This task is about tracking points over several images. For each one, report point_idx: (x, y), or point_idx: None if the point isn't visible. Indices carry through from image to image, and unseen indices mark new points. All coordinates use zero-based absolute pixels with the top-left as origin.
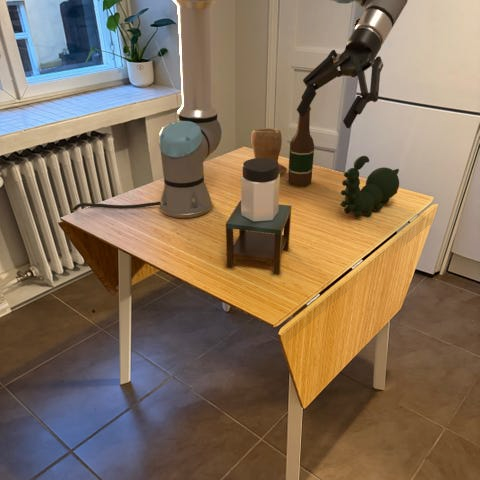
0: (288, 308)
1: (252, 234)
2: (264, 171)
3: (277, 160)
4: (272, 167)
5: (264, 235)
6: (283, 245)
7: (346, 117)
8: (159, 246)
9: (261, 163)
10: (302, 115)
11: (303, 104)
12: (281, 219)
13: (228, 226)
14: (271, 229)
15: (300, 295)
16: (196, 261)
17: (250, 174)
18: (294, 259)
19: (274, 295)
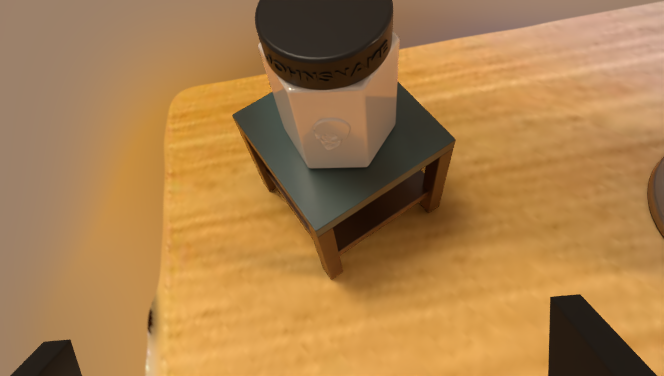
0: (176, 127)
1: (396, 191)
2: None
3: None
4: (268, 18)
5: (371, 212)
6: (297, 215)
7: (34, 364)
8: (536, 64)
9: (325, 11)
10: (549, 367)
11: (586, 358)
12: (271, 150)
13: None
14: (254, 102)
15: (182, 168)
16: (427, 90)
17: None
18: (283, 253)
19: (221, 133)
